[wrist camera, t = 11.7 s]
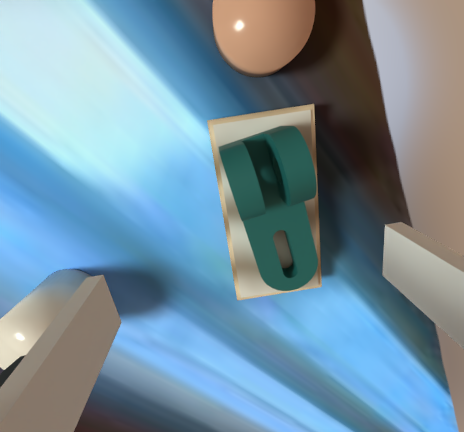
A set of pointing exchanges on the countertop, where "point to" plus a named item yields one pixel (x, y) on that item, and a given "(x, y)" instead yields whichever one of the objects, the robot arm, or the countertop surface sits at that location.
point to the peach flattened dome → (261, 33)
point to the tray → (238, 242)
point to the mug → (36, 313)
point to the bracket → (274, 201)
